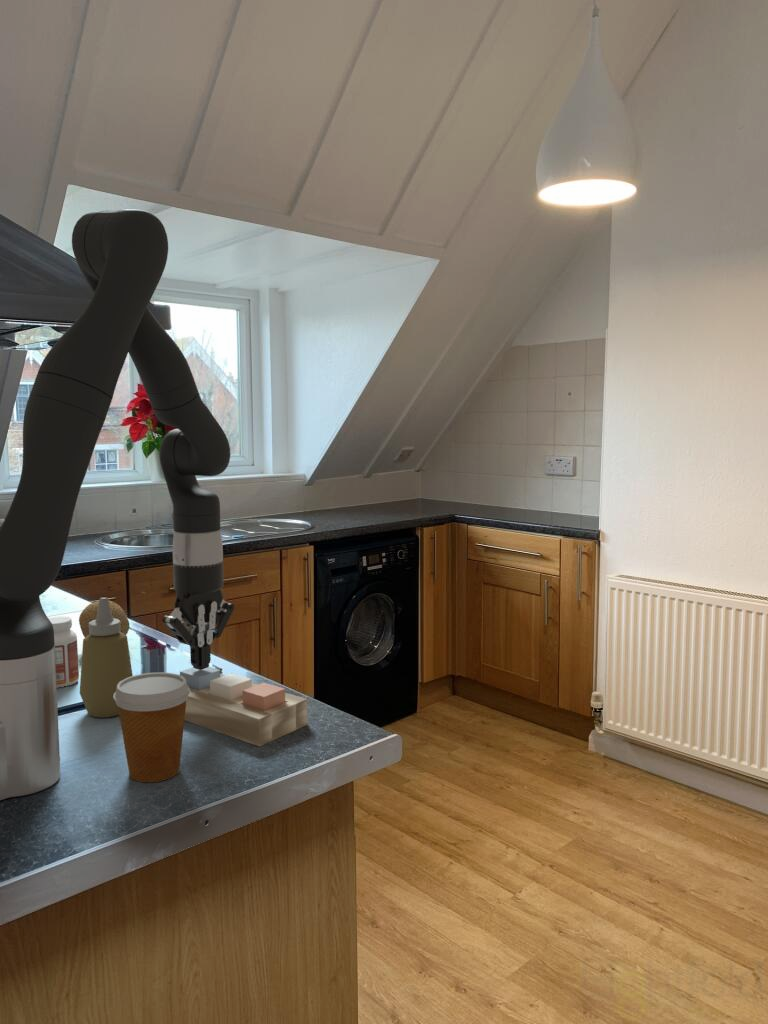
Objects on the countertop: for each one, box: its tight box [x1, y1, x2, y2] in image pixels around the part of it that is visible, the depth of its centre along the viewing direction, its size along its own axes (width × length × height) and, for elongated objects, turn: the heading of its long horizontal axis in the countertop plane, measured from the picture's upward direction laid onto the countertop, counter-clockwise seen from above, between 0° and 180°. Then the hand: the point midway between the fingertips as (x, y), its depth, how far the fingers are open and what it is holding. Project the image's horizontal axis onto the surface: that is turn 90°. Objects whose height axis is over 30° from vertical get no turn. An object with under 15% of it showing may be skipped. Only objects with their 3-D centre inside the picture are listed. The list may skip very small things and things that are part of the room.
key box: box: [184, 673, 308, 747], centre depth 126 cm, size 10×22×4 cm, turn 53°
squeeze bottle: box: [79, 597, 134, 718], centre depth 127 cm, size 8×8×18 cm
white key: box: [210, 673, 253, 701], centre depth 126 cm, size 4×4×3 cm
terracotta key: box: [242, 682, 286, 711], centre depth 122 cm, size 4×4×3 cm
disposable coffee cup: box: [113, 671, 190, 783], centre depth 107 cm, size 10×10×12 cm
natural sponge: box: [78, 599, 130, 638], centre depth 159 cm, size 9×9×10 cm
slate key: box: [179, 666, 221, 691], centre depth 130 cm, size 4×4×3 cm
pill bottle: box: [48, 616, 80, 689], centre depth 141 cm, size 6×6×11 cm
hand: (201, 667), depth 130 cm, fingers closed
